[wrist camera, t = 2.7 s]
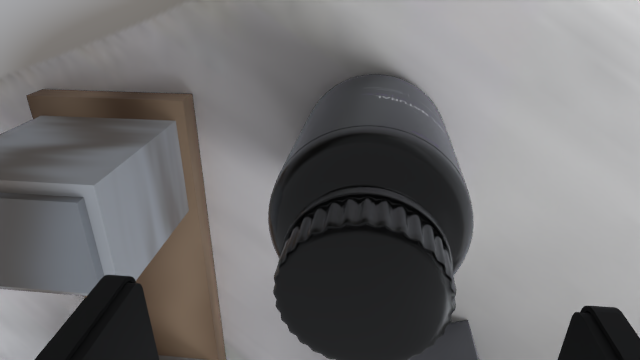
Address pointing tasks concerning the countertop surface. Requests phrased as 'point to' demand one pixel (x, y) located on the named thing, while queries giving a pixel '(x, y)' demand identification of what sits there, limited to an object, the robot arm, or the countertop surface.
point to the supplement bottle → (370, 223)
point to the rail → (187, 242)
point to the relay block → (452, 345)
